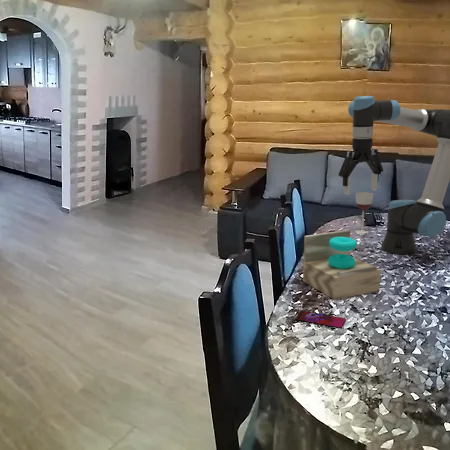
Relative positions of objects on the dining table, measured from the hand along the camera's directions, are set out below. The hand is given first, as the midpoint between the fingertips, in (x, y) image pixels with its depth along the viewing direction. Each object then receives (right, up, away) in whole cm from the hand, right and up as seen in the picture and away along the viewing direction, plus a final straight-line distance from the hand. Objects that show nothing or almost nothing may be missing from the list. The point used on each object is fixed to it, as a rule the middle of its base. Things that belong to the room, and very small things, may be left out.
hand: (360, 192), depth 206 cm
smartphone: (-23, -44, -39) cm, 63 cm away
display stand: (-10, -36, -10) cm, 38 cm away
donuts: (-10, -28, -12) cm, 32 cm away
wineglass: (+17, -17, +64) cm, 69 cm away
